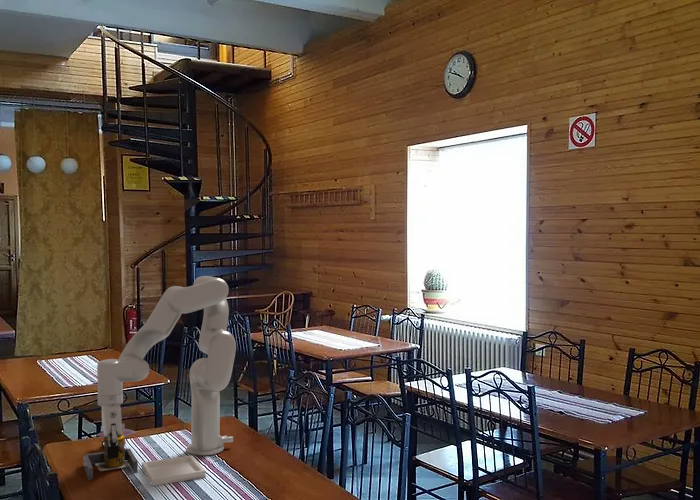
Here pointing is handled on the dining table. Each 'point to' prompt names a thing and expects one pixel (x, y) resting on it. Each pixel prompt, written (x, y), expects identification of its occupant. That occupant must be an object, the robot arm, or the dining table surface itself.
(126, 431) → the lily
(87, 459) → the bracket
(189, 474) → the tray
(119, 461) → the condiment
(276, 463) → the dining table surface
